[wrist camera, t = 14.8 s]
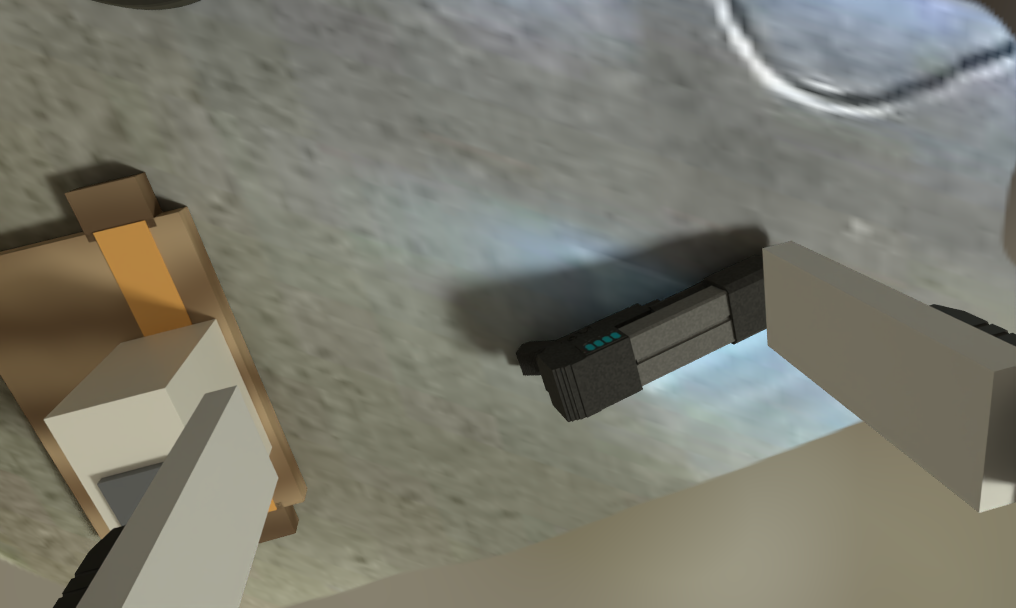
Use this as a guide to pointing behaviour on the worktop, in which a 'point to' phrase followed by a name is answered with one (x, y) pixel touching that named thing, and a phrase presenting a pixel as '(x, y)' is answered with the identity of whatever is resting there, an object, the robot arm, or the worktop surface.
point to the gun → (648, 341)
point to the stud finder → (141, 412)
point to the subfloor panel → (119, 317)
